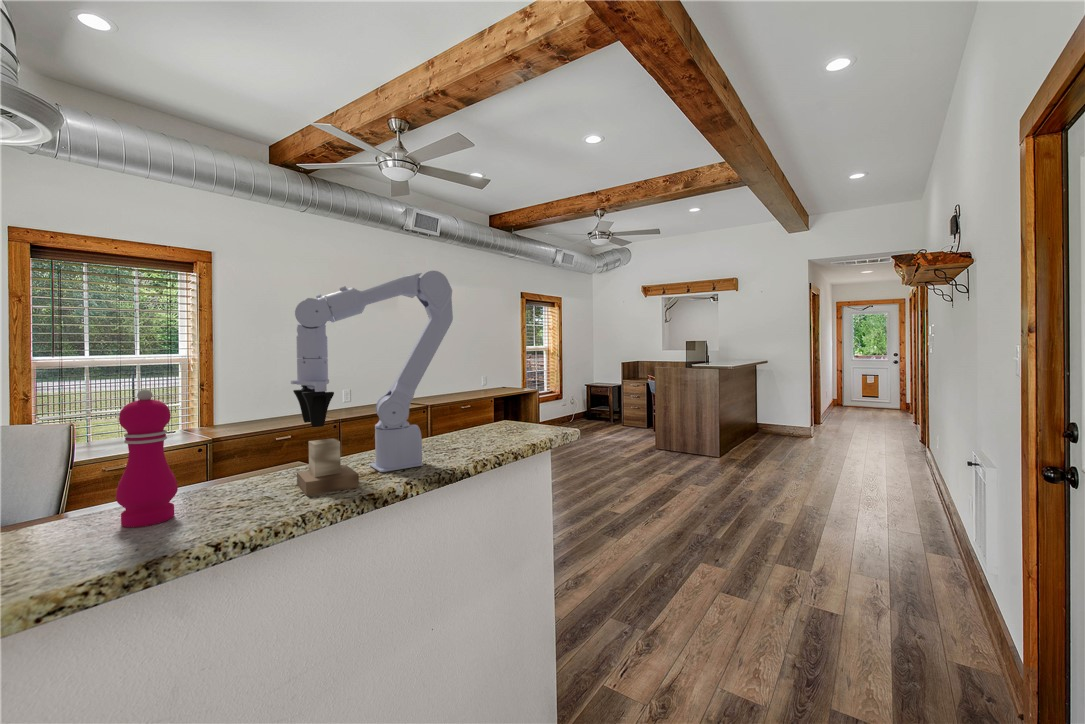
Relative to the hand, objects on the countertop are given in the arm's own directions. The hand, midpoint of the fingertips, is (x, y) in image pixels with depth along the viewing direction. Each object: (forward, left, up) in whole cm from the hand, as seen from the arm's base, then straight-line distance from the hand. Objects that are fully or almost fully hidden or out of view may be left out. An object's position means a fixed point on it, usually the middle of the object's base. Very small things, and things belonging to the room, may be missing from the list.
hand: (313, 424), depth 98 cm
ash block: (0, +10, -8) cm, 13 cm away
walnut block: (0, +11, -11) cm, 15 cm away
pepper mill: (+26, +13, -11) cm, 31 cm away
